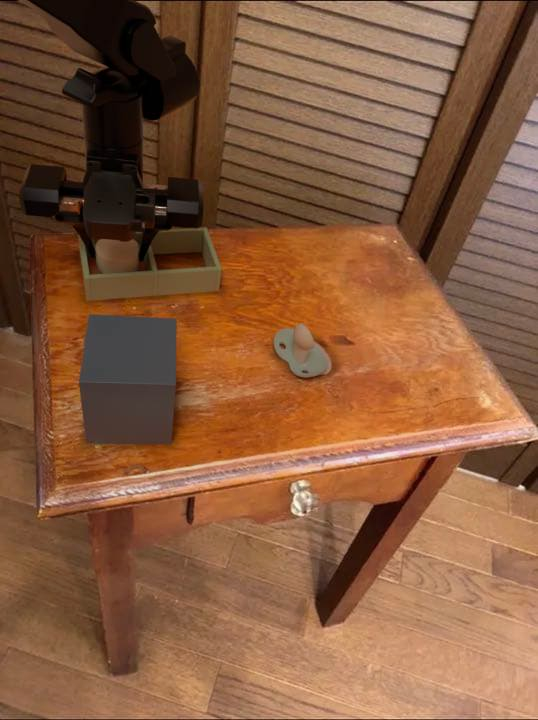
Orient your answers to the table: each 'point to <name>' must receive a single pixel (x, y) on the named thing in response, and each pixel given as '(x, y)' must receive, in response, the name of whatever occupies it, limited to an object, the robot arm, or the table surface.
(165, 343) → the stand
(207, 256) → the olive green divided tray
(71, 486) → the table surface
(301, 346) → the pacifier
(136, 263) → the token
